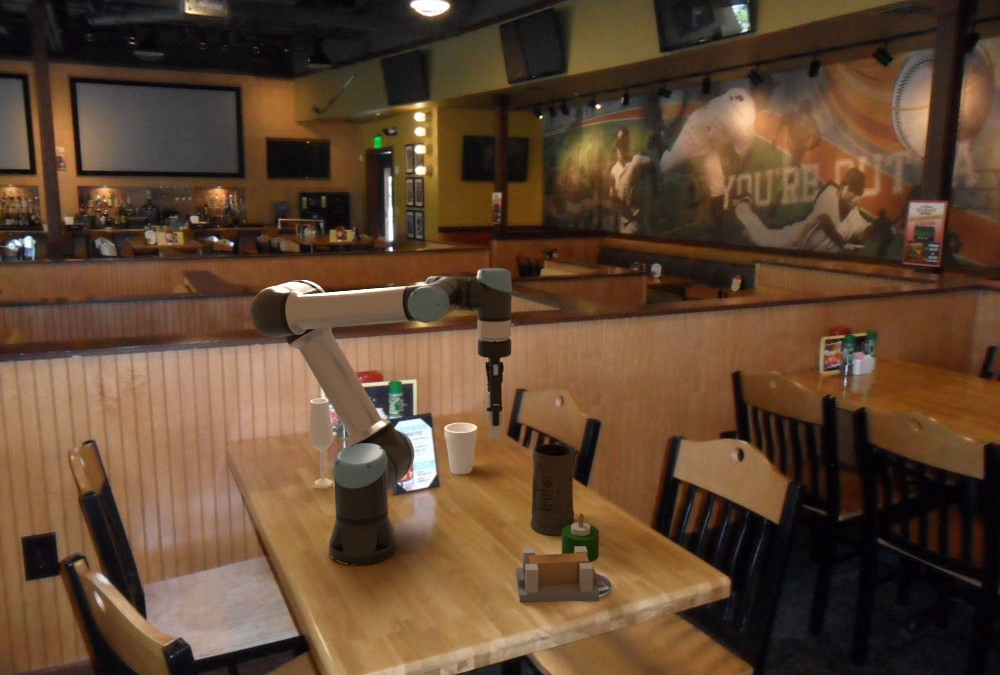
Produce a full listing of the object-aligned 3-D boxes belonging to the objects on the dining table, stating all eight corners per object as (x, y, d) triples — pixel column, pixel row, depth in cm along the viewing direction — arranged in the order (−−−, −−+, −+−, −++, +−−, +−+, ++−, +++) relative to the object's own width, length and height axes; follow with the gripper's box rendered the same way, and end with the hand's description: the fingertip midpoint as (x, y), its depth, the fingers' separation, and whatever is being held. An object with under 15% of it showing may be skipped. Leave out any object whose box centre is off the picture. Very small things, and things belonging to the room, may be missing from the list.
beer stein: (571, 538, 181) (574, 456, 178) (526, 534, 183) (528, 452, 180) (578, 515, 196) (580, 439, 193) (536, 512, 198) (538, 436, 195)
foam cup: (483, 468, 225) (483, 426, 222) (465, 479, 217) (465, 435, 215) (457, 462, 230) (456, 420, 227) (438, 472, 222) (437, 429, 220)
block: (530, 586, 157) (530, 563, 156) (528, 577, 160) (528, 555, 159) (588, 583, 158) (589, 560, 157) (584, 574, 162) (585, 552, 161)
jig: (519, 601, 154) (519, 571, 153) (516, 574, 165) (516, 546, 164) (599, 600, 155) (600, 570, 153) (590, 572, 166) (591, 544, 164)
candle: (560, 545, 178) (561, 504, 176) (596, 546, 178) (597, 505, 176) (562, 563, 170) (563, 520, 168) (600, 563, 170) (601, 521, 168)
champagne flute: (332, 489, 210) (328, 404, 205) (307, 489, 210) (303, 404, 205) (338, 480, 216) (334, 397, 211) (314, 479, 216) (310, 397, 212)
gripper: (514, 349, 160) (514, 447, 164) (508, 327, 185) (507, 412, 189) (478, 350, 160) (478, 447, 164) (476, 327, 184) (477, 412, 188)
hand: (494, 429), depth 176 cm, fingers open, 13 cm apart
